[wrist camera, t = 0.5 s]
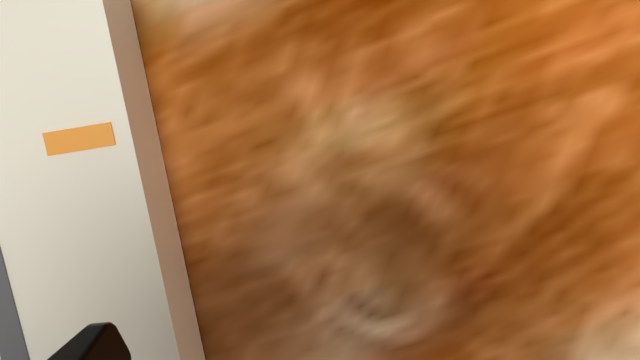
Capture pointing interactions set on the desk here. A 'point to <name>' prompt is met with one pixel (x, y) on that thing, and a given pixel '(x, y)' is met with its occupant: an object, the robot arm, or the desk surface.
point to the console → (84, 188)
